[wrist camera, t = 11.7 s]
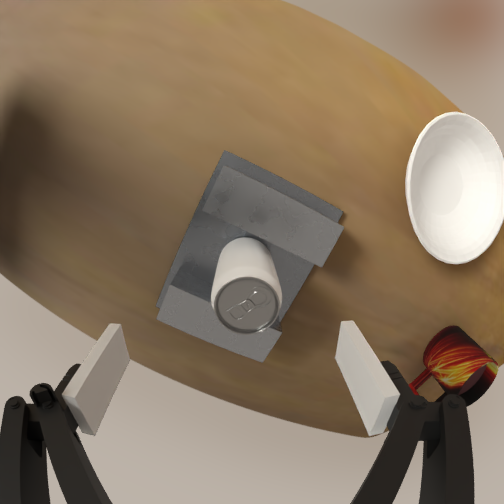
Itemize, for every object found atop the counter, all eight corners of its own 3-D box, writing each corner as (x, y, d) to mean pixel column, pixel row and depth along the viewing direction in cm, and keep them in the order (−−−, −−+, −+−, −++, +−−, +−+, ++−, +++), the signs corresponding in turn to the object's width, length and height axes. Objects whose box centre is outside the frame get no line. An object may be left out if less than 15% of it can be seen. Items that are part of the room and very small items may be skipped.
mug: (402, 384, 45) (429, 427, 33) (440, 322, 41) (479, 359, 30) (434, 385, 46) (461, 423, 35) (469, 328, 42) (506, 361, 31)
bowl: (482, 131, 32) (509, 130, 26) (474, 250, 38) (498, 262, 32) (382, 104, 31) (407, 95, 25) (377, 251, 37) (398, 267, 31)
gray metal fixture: (157, 303, 38) (145, 325, 33) (225, 150, 33) (221, 147, 27) (261, 347, 41) (264, 373, 35) (341, 210, 35) (358, 219, 30)
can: (282, 266, 36) (299, 312, 25) (240, 295, 37) (240, 350, 26) (250, 225, 35) (254, 256, 23) (208, 257, 36) (193, 301, 24)
